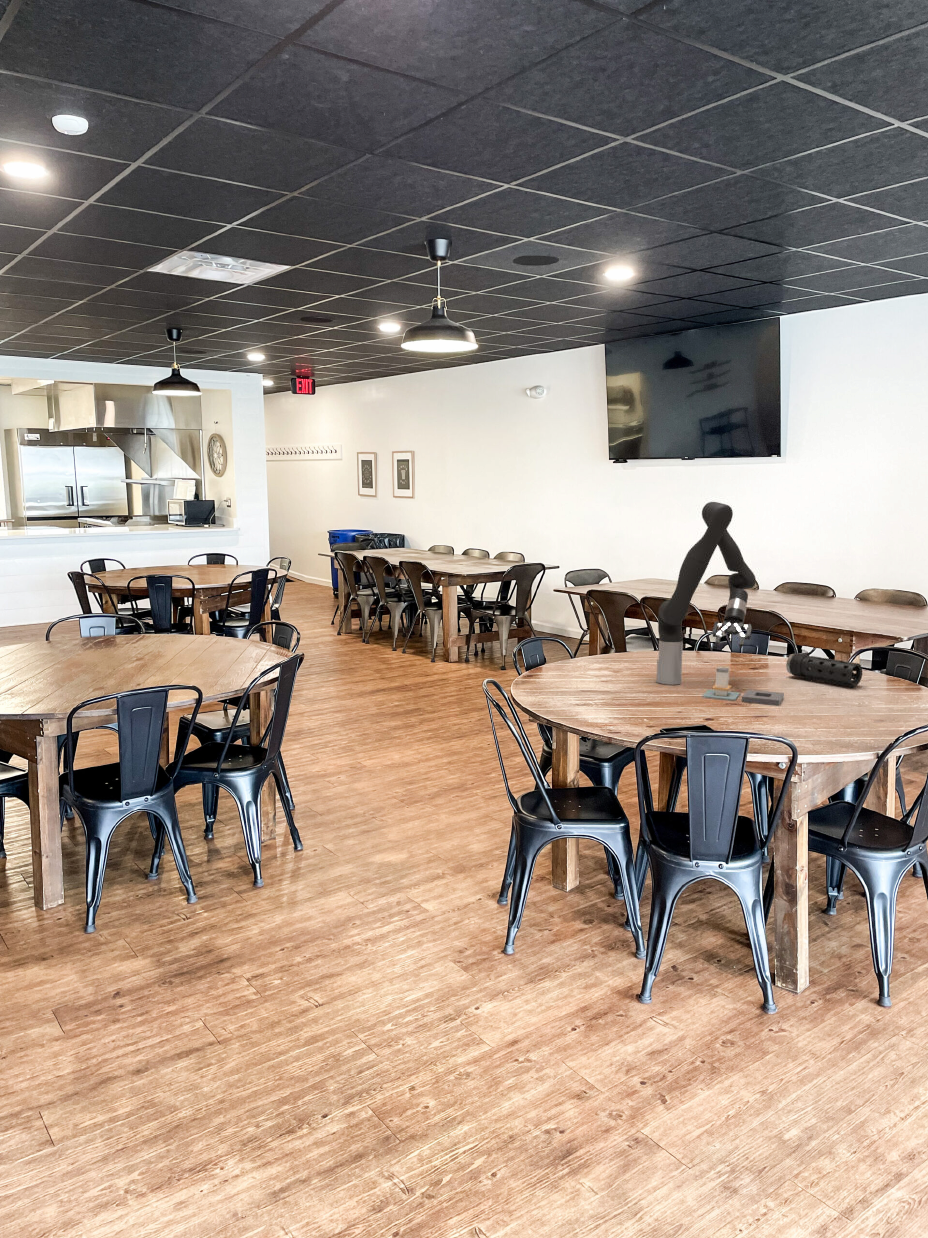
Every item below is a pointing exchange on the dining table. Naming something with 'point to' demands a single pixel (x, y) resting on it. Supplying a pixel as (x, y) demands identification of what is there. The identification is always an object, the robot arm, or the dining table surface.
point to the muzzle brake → (824, 669)
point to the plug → (722, 681)
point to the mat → (729, 696)
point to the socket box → (763, 697)
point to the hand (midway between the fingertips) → (729, 645)
